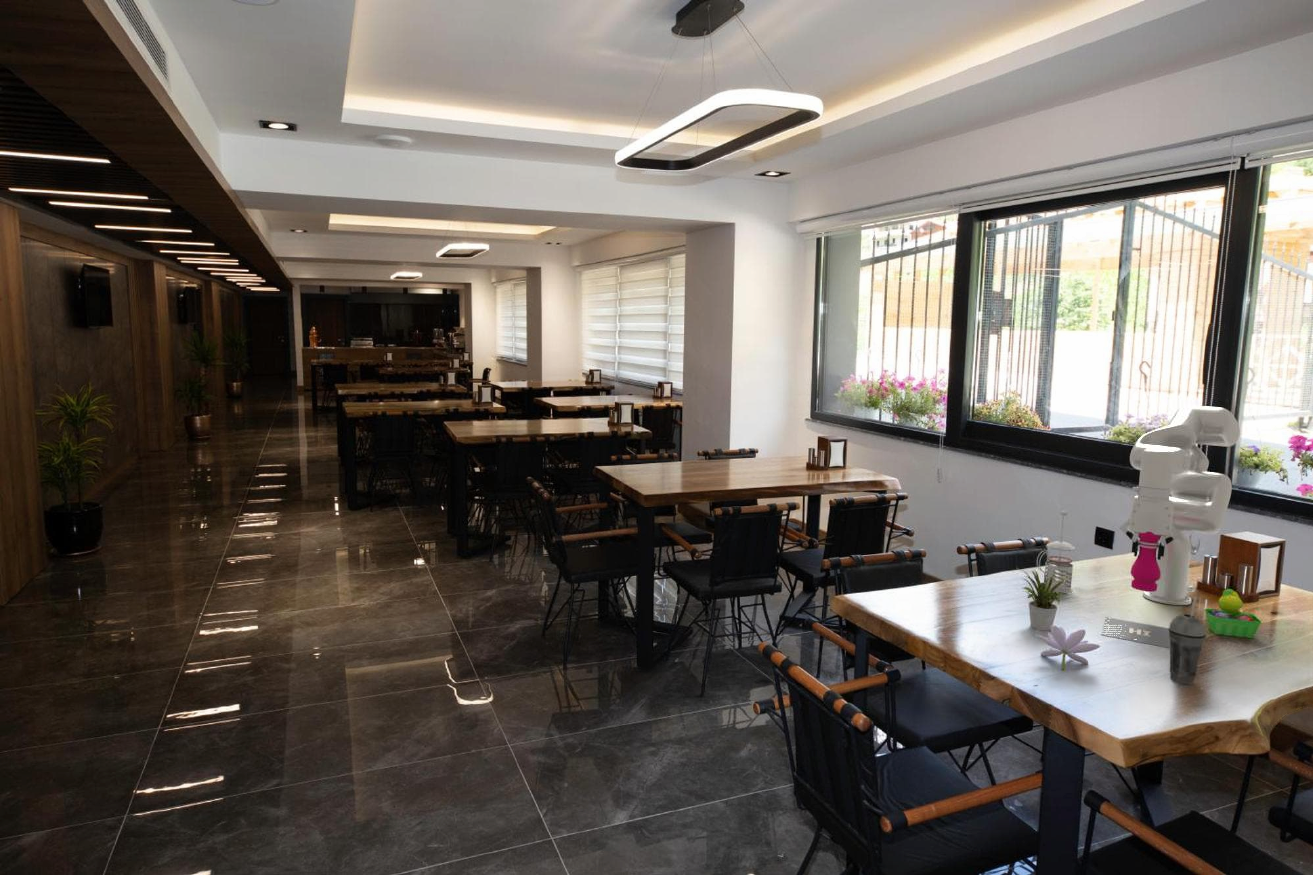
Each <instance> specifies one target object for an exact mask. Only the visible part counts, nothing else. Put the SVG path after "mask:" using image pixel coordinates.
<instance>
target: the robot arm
mask: <svg viewBox="0 0 1313 875" xmlns="http://www.w3.org/2000/svg"><path fill="white" fill-rule="evenodd" d="M1240 434H1241V430H1240V423H1239V421H1237V419H1236V418H1235V416H1234V414H1233V413H1232V412H1231V411H1230V410H1228V409H1227V408H1224V407H1219V406H1218V407H1217V406H1205V405H1203V406H1202V405H1186V406H1183V407H1181V408H1179V409H1178V410H1177V411H1176V412H1175V413H1174V415H1173V416H1172V418H1171V420H1170V421H1169V422H1168V424H1167V425H1166V426H1163V427H1160V428H1157V429H1155V430H1152V431H1148V432H1147V433H1144V434H1143V435H1141V436H1139V438H1138V440H1137V441H1136V442H1135V444H1134V445H1133V447H1132V449H1131V450H1130V451H1131V452H1130V455H1129V462H1130V463H1129V464H1130V466H1132V467H1133V468H1134V469H1135V470H1138V471H1139V480H1138V481H1139V483H1138V485H1137V486H1132V489H1131V490H1132V492H1133V493H1135V494H1137V495H1135V496H1134V497H1133V500H1132V505H1131V509H1130V514H1129V517H1128V519H1127V520H1125V522H1124V523H1122V524H1121V525H1120V526H1119V530H1121V531H1122V532H1123V533H1124V534H1125V535H1126V536H1127V538H1129V540H1131V542H1132V546H1131V553H1132V554H1133V557H1138V553H1139V545H1138V543H1139V542H1138V541H1139V537H1138V536H1139V535H1138V533H1146V532H1152V533H1153V534H1155V535H1158V536H1161V538H1160V540H1159V541H1158V543H1159V548H1157V551H1156V559H1157V563H1158V566H1159V568H1160V573H1161V576H1160V579H1159V580H1157V581H1156V582H1155V583H1157V591H1154V592H1148V591H1142V596H1143V597H1144V598H1146V599H1147V600H1150V601H1153V602H1155V603H1160V604H1165V605H1172V606H1187V605H1190V604H1192V598H1191V597H1190V596H1189V595H1188V594H1189V593H1194V592H1196V589H1197V588H1196V586H1194V585H1188V578H1189V570H1190V561H1191V560H1190V559H1191V553H1192V552H1191V551H1192V545H1191V541H1190V539H1189V538H1188V536H1187V535H1186V533H1185V532H1193V533H1200V534H1205V535H1206V534H1207V535H1215V534H1217V533H1219V532H1220V531H1221V528H1222V527H1223V525H1224V520H1225V516H1226V513H1227V510H1228V506H1229V503H1230V499H1231V495H1232V491H1233V490H1232V489H1233V488H1232V487H1233V486H1232V480H1231V479H1230V477H1229V476H1227V475H1226V474H1223V473H1220V472H1214V471H1213V472H1212V471H1211V472H1210V471H1208V467H1209V464H1210V461H1209V459H1208V457H1207V456H1206V454H1205V453H1204V452H1203V451H1202V449H1200V448H1199V447H1198V446H1197V445H1203V446H1204V445H1205V446H1217V447H1233V446H1235V444H1237V442H1238V440H1239V438H1240ZM1184 531H1185V532H1184Z"/></svg>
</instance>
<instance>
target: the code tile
mask: <svg viewBox="0 0 1313 875" xmlns="http://www.w3.org/2000/svg"><path fill="white" fill-rule="evenodd" d="M1106 618H1107V619H1106ZM1109 618H1111V619H1109ZM1107 620H1110V621H1107ZM1104 622H1107V623H1103V627H1108V626H1104V624H1105V625H1106V624H1109V625H1117V626H1110V627H1116V628H1109V629H1117V630H1109V631H1117V632H1107V633H1113V634H1106V635H1111V636H1110V637H1109V638H1114V637H1115V638H1114V639H1121V640H1125V639H1126V641H1131V642H1135V641H1136V642H1135V643H1141V644H1145V643H1146V644H1147V645H1151V646H1155V647H1161V646H1162V648H1167V649H1170V638H1169V630H1168V629H1169V627H1161V626H1157V625H1151V624H1147V623H1140V622H1135V621H1130V620H1125V619H1119V618H1112V617H1108V616H1105V620H1104ZM1118 625H1122V626H1118ZM1125 625H1126V626H1125ZM1103 627H1102V630H1103V629H1108V628H1103ZM1117 627H1120V628H1117ZM1121 627H1122V628H1121ZM1118 629H1119V630H1118ZM1120 629H1122V630H1120ZM1103 631H1106V630H1103ZM1107 631H1108V630H1107ZM1118 631H1121V632H1118ZM1125 631H1126V632H1125ZM1102 633H1106V632H1102V631H1101V634H1100V635H1101V636H1104V635H1105V634H1102ZM1114 633H1115V634H1114ZM1116 633H1120V634H1116ZM1112 635H1113V636H1112ZM1114 635H1115V636H1114ZM1116 635H1117V636H1116ZM1121 635H1122V636H1121ZM1123 635H1124V636H1123ZM1120 637H1121V638H1120ZM1134 639H1137V640H1134ZM1139 641H1140V642H1139ZM1146 644H1145V645H1146Z"/></svg>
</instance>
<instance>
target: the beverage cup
mask: <svg viewBox="0 0 1313 875" xmlns="http://www.w3.org/2000/svg"><path fill="white" fill-rule="evenodd" d="M1197 598H1198V596H1195V595H1194V596H1193V602H1192V606H1191V610H1190V614H1187V613H1185V614H1179V615H1177V616H1176V617H1175V616H1174V618H1172V620H1171V621H1170V623H1169V626H1168V628H1169V629H1168V630H1169V638H1170V648H1169V678H1170V680H1171V681H1173V682H1175V683H1178V684H1183V685H1193V684H1194V681H1195V679H1196V678H1195V677H1196V674H1197V670H1198V665H1199V661H1200V656H1201V653H1202V648H1203V647H1202V646H1203V645H1204V643H1205V639H1206V637H1207V634H1206V628H1205V626H1204V623H1203V622H1202V621H1201V620H1200V619H1199V618H1198V617H1196V616H1195V615H1194V613H1195V608H1196V604H1197Z"/></svg>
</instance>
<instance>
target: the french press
mask: <svg viewBox="0 0 1313 875" xmlns="http://www.w3.org/2000/svg"><path fill="white" fill-rule="evenodd" d="M1060 515H1061V516H1062V520H1064V517H1066V516H1068V513H1067V511H1065V510H1063V511H1060ZM1063 528H1064V521H1062V524H1061V531H1063ZM1046 547H1047V548H1048V549H1050V550H1056V551H1059V553H1061V551H1062V552H1072V551H1075V550H1076V547H1075V546H1073V544H1071V543H1069V542H1066V541H1063V533H1061V535H1060V540H1056V541H1052V542H1049V543H1047V544H1046ZM1048 549H1044V550H1042V551H1040V553H1039V554H1038V556H1037V557H1036V567H1037V569H1038V570H1039V571H1040V572H1041V573H1043V582H1044V581H1045V577H1046V574H1047V572H1048V571H1049V572H1048V574H1047V577H1046V581H1047V580H1048V579H1049V580H1050V577H1051V576H1052V574H1053V575H1054V576H1053V581H1052V584H1051V587H1050V589H1049V591H1050V590H1051V589H1052V588H1053V587H1054V586H1055V585H1056V584H1057V583H1059V582H1060V581H1061V580H1063V579H1065V578H1068V577H1071V578H1069V579H1067V580H1065V581H1064V582H1063V583H1062V584H1061V585H1059V586H1058V587H1057V588H1056V589H1055V590H1054V592H1063V593H1071V594H1073V593H1072V592H1073V591H1074V592H1075V590H1074V589H1073V588H1072V580H1073V568H1074V564H1072V562H1073V560H1072V559H1071V558H1069V557H1064V556H1061V555H1058V556H1057V555H1050V551H1049V550H1048ZM1041 554H1042V555H1041ZM1045 554H1046V556H1047V557H1046V559H1047V560H1046V561H1045V564H1044V566H1045V567H1044V571H1043V569H1042V568H1041V559H1042V558H1043V556H1044V555H1045ZM1040 555H1041V556H1040ZM1039 557H1040V558H1039ZM1051 564H1052V565H1051ZM1049 580H1048V581H1047V584H1046V586H1048V584H1049ZM1046 581H1045V583H1046Z"/></svg>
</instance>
